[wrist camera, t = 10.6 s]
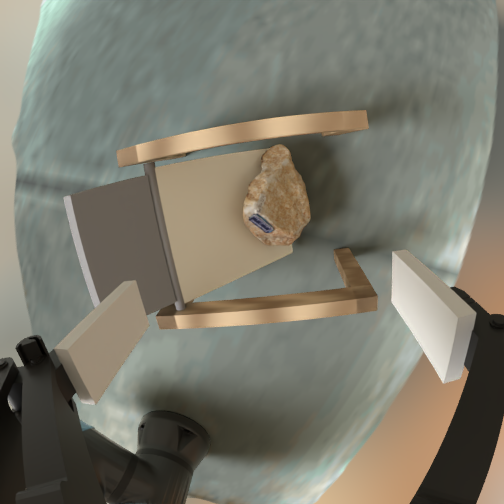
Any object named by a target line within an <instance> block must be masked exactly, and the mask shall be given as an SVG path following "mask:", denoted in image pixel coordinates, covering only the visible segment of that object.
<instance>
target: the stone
mask: <svg viewBox="0 0 504 504" xmlns="http://www.w3.org/2000/svg"><path fill="white" fill-rule="evenodd" d="M261 161H262V162H261V166H262V171H261V173H260V174H259V175H258V176H256V178H255V179H254V180H252V181H251V182H250V184H249V186H248V193H247V195H246V198H245V201H244V204H243V220H244V223H245V226H246V227H248V228H249V230H250V231H251V232H252V233H253V235H254V236H256V237H257V238H258V239H259V240H261V241H262V242H263V243H264V244H266V245H268V246H274V245H277V246H289V245H291V244H292V243H293V242H294V241H295V240H296V239H297V238H299V237H300V234H301V232H302V230H303V228H304V227H305V226H306V225H307V224H308V222H309V221H310V219H311V216H310V206H309V200H308V197H307V192H306V186H305V183H304V182H303V180H302V176H301V175H300V174H299V173H298V172H297V170H296V169H295V168H294V164H293V162H292V157H291V153H290V151H289V150H288V149H287V148H286V147H285V146H283V145H281V144H278V145H275V146H271V148H270V149H268V150H267V151H266V152H265V153H264V154H263V155H262V157H261Z"/></svg>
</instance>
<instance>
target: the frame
mask: <svg viewBox="0 0 504 504" xmlns="http://www.w3.org/2000/svg"><path fill="white" fill-rule="evenodd" d="M364 129H369V127H368V120H367V113H366V110H359V111H340V112H326V113H314V114H304V115H294V116H285V117H277V118H270V119H262V120H255V121H249V122H242V123H236V124H230V125H225V126H219V127H214V128H209V129H204V130H199V131H194V132H189V133H184V134H180V135H175V136H171V137H167V138H163V139H159V140H155V141H151V142H147V143H143V144H139V145H135V146H132V147H128V148H125V149H121V150H118V151H116V152H117V158H118V164H119V167H124V166H130V165H136V164H142V163H149V162H155V161H162V160H169V159H175V158H180V157H185V156H186V153H187V152H192V151H197V150H202V149H208V148H213V147H219V146H225V145H231V144H237V143H243V142H250V141H256V140H263V139H271V138H279V137H287V136H295V135H305V134H315V133H322V136H333V135H340V134H345V133H350V132H354V131H359V130H364ZM334 261H335V263H336V265H337V267H338V270H339V272H340V274H341V277H342V279H343V281H344V284H345V286H346V288H340V289H332V290H324V291H315V292H306V293H297V294H287V295H278V296H267V297H257V298H246V299H234V300H222V301H209V302H196V303H192V302H193V301H194V299H193V300H191V301H189V302H187V303H185V304H186V308H185V309H184V310H180V311H178V310H176V306H175V303H173V304H171V305H169V306H167V307H164V308H162V309H161V310H160V311H159V312H158V314H157V315H156V319H157V322H158V325H159V328H160V329H184V328H206V327H224V326H239V325H252V324H265V323H276V322H287V321H297V320H306V319H315V318H324V317H332V316H340V315H348V314H356V313H363V312H370V311H377V302H378V296H377V294H376V292H375V291H374V289H373V287H372V286H371V284H370V282H369V280H368V279H367V277H366V275H365V274H364V272H363V270H362V269H361V267H360V266H359V264H358V262H357V261H356V259H355V257H354V256H353V254H352V253H351V251H350V249H349V248H342V249H334Z"/></svg>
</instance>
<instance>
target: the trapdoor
mask: <svg viewBox="0 0 504 504" xmlns="http://www.w3.org/2000/svg"><path fill="white" fill-rule="evenodd" d="M268 149H270V148H267V149H259V150H252V151H245V152H238V153H231V154H225V155H219V156H213V157H207V158H201V159H195V160H190V161H185V162H179V163H174V164H169V165H165V166H160V167H155V162H151V163H147V164H143V165H144V171H145V176H140V177H136V178H131V179H127V180H123V181H119V182H115V183H111V184H107V185H104V186H100V187H96V188H93V189H89V190H85V191H82V192H78V193H75V194H72V195H68V196H65V197H63V198H64V202H65V207H66V211H67V216H68V220H69V224H70V228H71V232H72V236H73V240H74V243H75V247H76V251H77V254H78V258H79V261H80V264H81V268H82V271H83V274H84V277H85V280H86V283H87V287H88V290H89V292H90V295H91V298H92V301H93V304H94V307H95V308H96V307H97V306H98V305H99V304H100V303H101V302H102V301H103V300H104V299H105V298H106V297H107V296H109V295H110V294H111V293H112V292H113V291H114V290H115V289H116V288H117V287H118V286H119V285H120V284H122V283H123V282H124V281H133V280H136V282H137V286H138V289H139V293H140V296H141V300H142V303H143V306H144V309H145V313H146V316H147V315H149V314H151V313H153V312H155V311H158V310H160V309H162V308H164V307H167V306H169V305H171V304H173V303H175V306H176V310H178V311H180V310H184V309H185V308H186V304H185V303H187V302H189V301H191V300H193V299H195V298H198V297H200V296H202V295H204V294H206V293H208V292H210V291H213V290H215V289H217V288H219V287H221V286H223V285H225V284H227V283H230V282H232V281H234V280H236V279H238V278H240V277H242V276H244V275H247V274H249V273H251V272H253V271H255V270H257V269H259V268H261V267H263V266H265V265H268V264H270V263H272V262H274V261H276V260H278V259H280V258H282V257H284V256H286V255H288V254H291V253H293V249H292V244H291V245H289V246H277V245H274V246H268V245H266V244H264V243H263V242H262V241H261V240H259V239H258V238H257V237H256V236H254V235H253V233H252V232H251V231H250V230H249V228H248V227H246V226H245V223H244V220H243V204H244V201H245V198H246V195H247V193H248V186H249V184H250V182H251V181H252V180H254V179H255V178H256V176H258V175H259V174H260V173H261V171H262V166H261V162H262V161H261V157H262V155H263V154H264V153H265V152H266V151H267V150H268Z"/></svg>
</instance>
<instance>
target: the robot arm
mask: <svg viewBox="0 0 504 504" xmlns="http://www.w3.org/2000/svg"><path fill="white" fill-rule="evenodd" d="M391 302H392V303H393V305H394V306H395V308H396V309H397V311H398V312H399V314H400V315H401V317H402V318H403V320H404V321H405V323H406V324H407V326H408V327H409V329H410V330H411V332H412V333H413V335H414V337H415V338H416V340H417V341H418V343H419V344H420V346H421V348H422V349H423V351H424V352H425V354H426V356H427V357H428V359H429V361H430V362H431V364H432V365H433V367H434V369H435V370H436V372H437V373H438V375H439V377H440V379H441V381H442V382H443V383H447V382H451V381H454V380H457V379H460V378H461V375H462V372H463V369H464V365H465V367H466V368H467V370H468V371H469V374H468V377H467V380H466V383H465V386H464V389H463V392H462V395H461V398H460V400H459V403H458V406H457V409H456V412H455V414H454V416H453V419H452V421H451V424H450V426H449V428H448V431H447V433H446V435H445V438H444V440H443V442H442V444H441V446H440V449H439V451H438V453H437V455H436V457H435V459H434V461H433V463H432V465H431V467H430V469H429V471H428V473H427V475H426V476H425V478H424V480H423V482H422V484H421V485H420V487H419V489H418V491H417V492H416V494H415V496H414V497H413V499H412V501H411V502H410V504H476V503H477V500H478V498H479V495H480V493H481V490H482V487H483V484H484V482H485V479H486V476H487V474H488V471H489V468H490V465H491V461H492V458H493V455H494V452H495V448H496V444H497V441H498V437H499V433H500V429H501V425H502V421H503V416H504V315H501V314H491V315H490V314H489V313H487V312H486V311H485V310H484V309H483V308H482V307H481V306H480V305H479V304H478V303H477V302H476V303H475V301H474V300H473V299H472V298H470V296H469V295H468V294H467V293H466V292H464V291H463V290H460V289H458V288H456V287H449V286H447V285H446V284H445V283H444V282H443V281H442V280H441V279H440V278H439V277H437V276H436V275H435V274H434V273H433V272H432V271H431V270H430V269H428V268H427V267H426V266H425V265H424V264H423V263H422V262H420V261H419V260H418V259H417V258H416V257H414V256H413V255H412V254H411V253H410V252H409V251H407V250H399V251H392V299H391ZM148 327H149V322H148V319H147V316H146V313H145V309H144V306H143V303H142V300H141V296H140V293H139V289H138V286H137V282H136V280H133V281H124V282H123V283H122V284H120V285H119V286H118V287H117V288H116V289H115V290H114V291H113V292H112V293H111V294H110V295H109V296H107V297H106V298H105V299H104V300H103V301H102V302H101V303H100V304H99V305H98V306H97V307H96V308H95V309H94V310H93V311H92V312H91V313H90V314H88V315H87V316H86V317H85V318H84V319H83V320H82V321H81V322H80V323H79V324H78V325H77V326H76V327H75V328H74V329H73V330H72V331H71V332H70V333H69V334H68V335H67V336H66V337H65V338H64V339H63V340H62V341H61V342H60V343H59V344H58V345H57V346H56V347H55V348H54V349H53V350H52V351H51V352H50V353H48V351H47V349H46V347H45V344H44V342H43V340H42V338H41V336H39V335H34V336H30V337H27V338H25V339H23V340H22V341H20V342H19V343H18V344H17V346H16V350H17V352H18V354H19V356H20V358H21V360H22V362H23V364H24V366H22V367H17V366H16V364H15V363H14V361H13V359H12V358H10V357H9V358H4V359H3V358H2V359H0V504H107V503H109V504H185V502H186V499H187V495H188V491H189V487H190V483H191V480H192V476H193V472H194V470H195V469H196V468H197V466H198V465H199V464H200V462H201V461H202V460H203V458H204V457H205V456H206V454H207V453H208V450H209V446H210V437H209V435H208V433H207V432H206V431H205V430H204V429H203V428H202V427H201V426H200V425H199V424H197V423H196V422H194V421H193V420H191V419H189V418H187V417H184V416H182V415H179V414H176V413H172V412H166V411H155V412H150V413H148V414H146V415H145V416H144V417H143V418H142V420H141V422H140V424H139V427H138V445H137V452H136V454H133V453H131V452H130V451H128V450H127V449H125V448H123V447H122V446H120V445H118V444H117V443H115V442H114V441H112V440H110V439H109V438H107V437H106V436H104V435H103V434H101V433H100V432H98V431H97V430H95V428H94V427H92V426H89V425H88V424H86V423H84V422H83V421H81V420H80V419H79V416H78V411H77V407H76V404H75V402H74V400H73V398H72V397H73V395H74V394H75V393H77V395H78V396H79V398H80V400H81V402H82V403H86V404H93V405H96V404H97V403H98V401H99V400H100V398H101V397H102V395H103V394H104V392H105V390H106V389H107V387H108V386H109V384H110V383H111V381H112V380H113V378H114V377H115V375H116V374H117V372H118V371H119V369H120V368H121V366H122V365H123V363H124V362H125V360H126V359H127V357H128V356H129V354H130V353H131V352H132V350H133V349H134V347H135V346H136V344H137V343H138V341H139V340H140V338H141V337H142V335H143V334H144V333H145V331H146V330H147V328H148ZM8 401H9V403H10V404H11V406H12V407H13V409H12V410H11V409H10V407H9V404H8ZM106 502H107V503H106Z"/></svg>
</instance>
